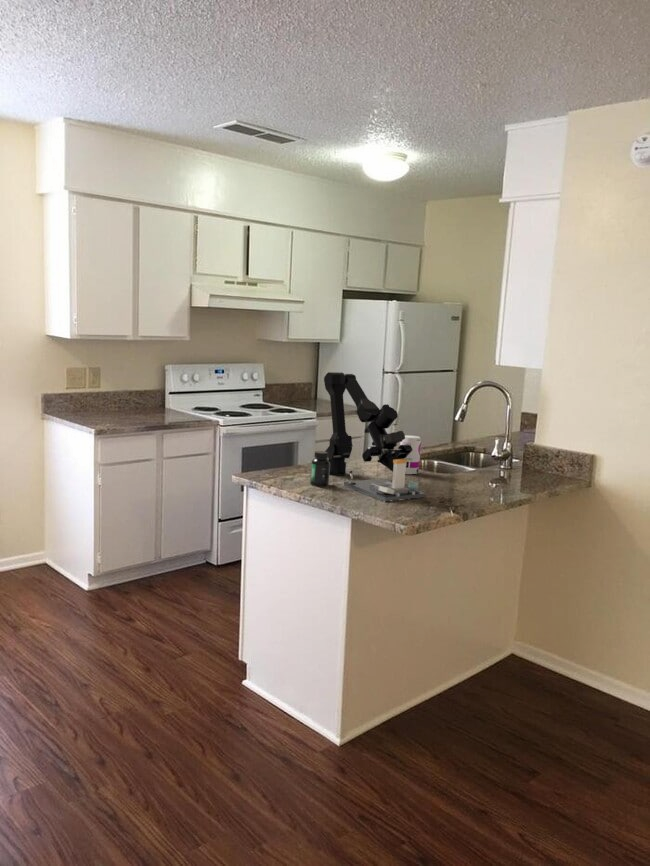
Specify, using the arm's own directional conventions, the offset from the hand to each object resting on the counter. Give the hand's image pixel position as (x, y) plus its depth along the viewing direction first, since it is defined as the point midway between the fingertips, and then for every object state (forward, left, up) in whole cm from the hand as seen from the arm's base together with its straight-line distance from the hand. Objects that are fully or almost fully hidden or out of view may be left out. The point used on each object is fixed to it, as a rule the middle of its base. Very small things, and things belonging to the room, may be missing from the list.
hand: (396, 473), depth 251 cm
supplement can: (+5, +40, -8) cm, 41 cm away
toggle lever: (-16, +7, -5) cm, 18 cm away
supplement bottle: (-27, +7, -8) cm, 29 cm away
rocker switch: (-3, -6, -5) cm, 8 cm away
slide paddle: (+1, -1, -6) cm, 6 cm away
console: (-4, +5, -8) cm, 10 cm away
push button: (+6, +2, -5) cm, 8 cm away
